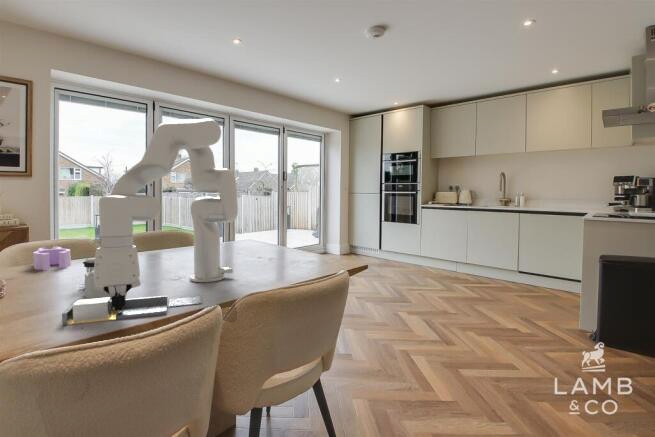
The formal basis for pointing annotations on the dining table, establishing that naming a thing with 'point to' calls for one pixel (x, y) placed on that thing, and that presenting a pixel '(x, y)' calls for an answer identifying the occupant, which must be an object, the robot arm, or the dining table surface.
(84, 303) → the clip block
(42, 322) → the dining table surface
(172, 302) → the tab
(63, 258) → the purple lobed block
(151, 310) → the rail
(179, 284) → the dining table surface
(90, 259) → the push button
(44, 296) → the dining table surface
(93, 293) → the lumpy-topped squat cylinder
